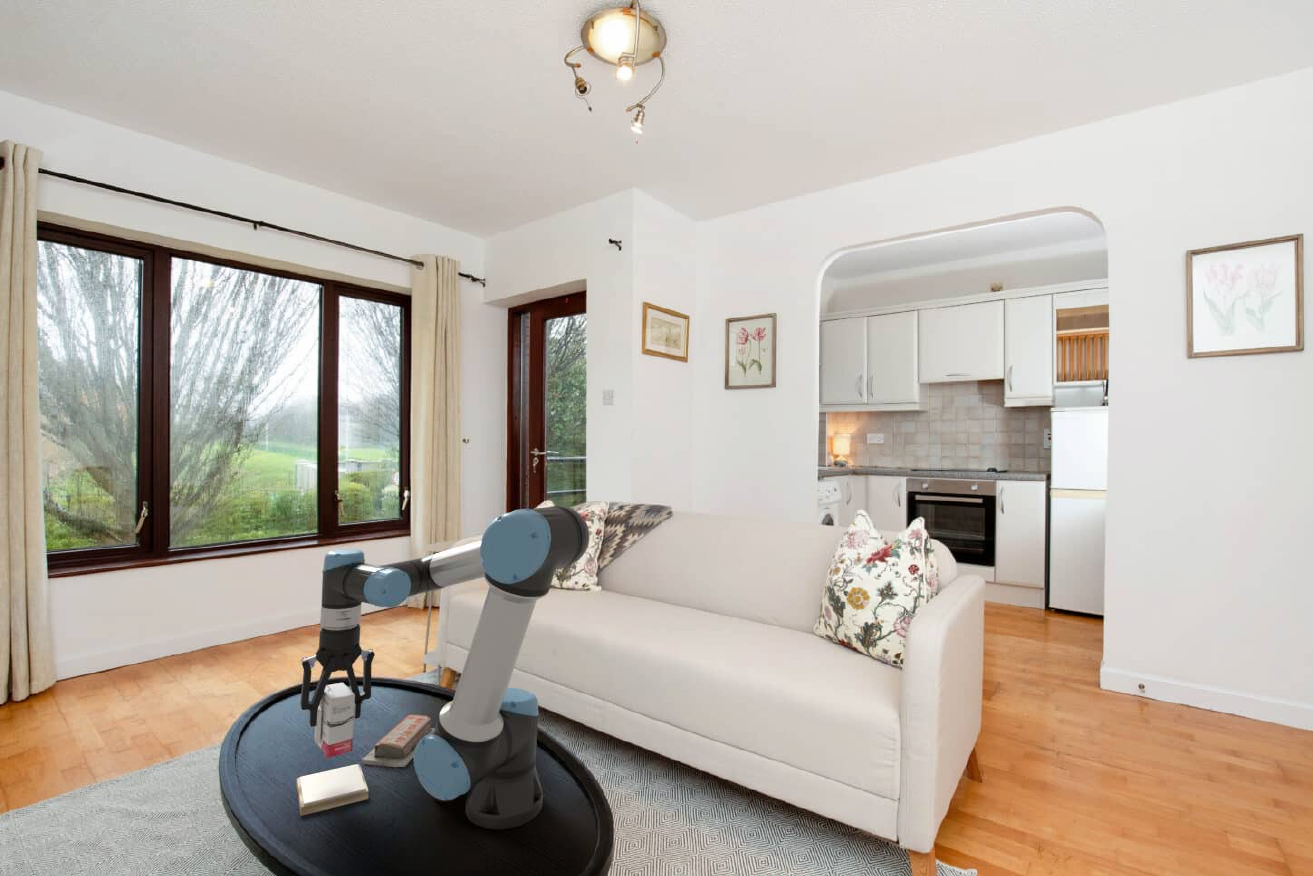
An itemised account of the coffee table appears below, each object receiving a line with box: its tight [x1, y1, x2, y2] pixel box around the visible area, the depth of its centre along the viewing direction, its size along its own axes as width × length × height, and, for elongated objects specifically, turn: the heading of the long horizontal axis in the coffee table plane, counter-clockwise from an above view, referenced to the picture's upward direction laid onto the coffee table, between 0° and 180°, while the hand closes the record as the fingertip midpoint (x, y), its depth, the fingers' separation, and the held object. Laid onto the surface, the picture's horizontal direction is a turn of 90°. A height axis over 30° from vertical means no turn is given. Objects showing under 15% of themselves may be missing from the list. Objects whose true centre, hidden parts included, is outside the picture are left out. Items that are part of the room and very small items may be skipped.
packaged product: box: [362, 714, 435, 768], centre depth 148 cm, size 18×5×10 cm
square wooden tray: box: [296, 763, 370, 817], centre depth 128 cm, size 12×12×2 cm
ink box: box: [316, 682, 355, 759], centre depth 129 cm, size 8×5×12 cm, turn 44°
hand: (334, 737), depth 129 cm, fingers closed on ink box, 5 cm apart
